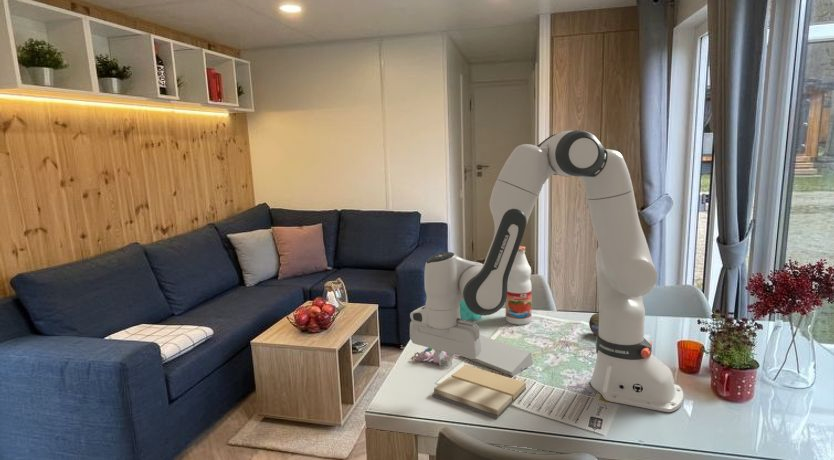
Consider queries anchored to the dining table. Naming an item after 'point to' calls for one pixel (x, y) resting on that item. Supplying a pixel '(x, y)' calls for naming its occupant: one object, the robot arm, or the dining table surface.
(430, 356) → the rabbit figure
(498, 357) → the decorative molding
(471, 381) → the laid floor
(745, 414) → the dining table surface
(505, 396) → the ash plank
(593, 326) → the tin
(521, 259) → the fruit juice
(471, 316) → the decorative dice
